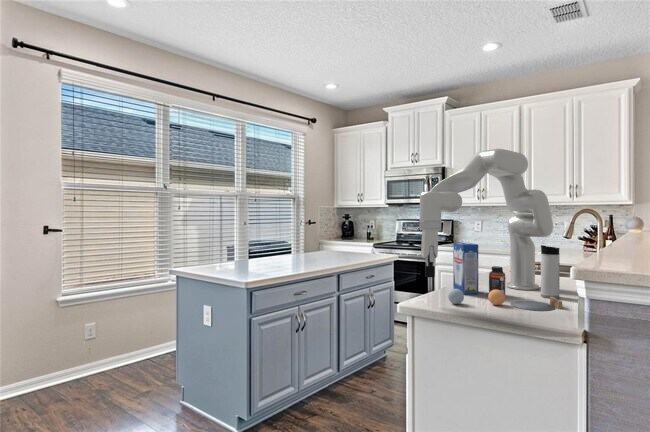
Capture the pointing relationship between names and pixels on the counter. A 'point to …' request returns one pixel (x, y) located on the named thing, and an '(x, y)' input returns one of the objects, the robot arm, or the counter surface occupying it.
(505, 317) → the counter surface
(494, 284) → the supplement bottle
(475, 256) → the milk carton
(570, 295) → the counter surface
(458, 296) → the light blue ball
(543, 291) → the travel mug
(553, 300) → the rail
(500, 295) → the orange ball
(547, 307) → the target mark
